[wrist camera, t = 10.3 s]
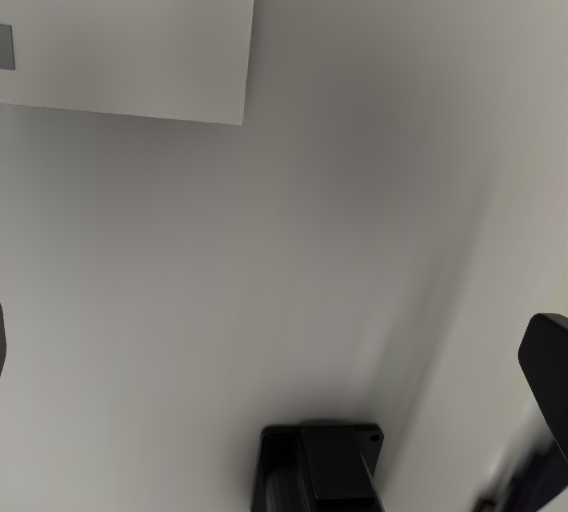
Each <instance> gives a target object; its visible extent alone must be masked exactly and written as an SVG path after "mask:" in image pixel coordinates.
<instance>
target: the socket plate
mask: <svg viewBox="0 0 568 512" xmlns="http://www.w3.org/2000/svg"><path fill="white" fill-rule="evenodd" d="M253 8H254V0H0V103H2V104H13V105H24V106H35V107H46V108H56V109H67V110H78V111H89V112H100V113H111V114H122V115H133V116H143V117H154V118H165V119H176V120H187V121H198V122H209V123H220V124H230V125H241V126H242V124H243V113H244V103H245V92H246V82H247V71H248V61H249V50H250V40H251V29H252V19H253Z"/></svg>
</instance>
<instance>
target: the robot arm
mask: <svg viewBox="0 0 568 512" xmlns="http://www.w3.org/2000/svg"><path fill="white" fill-rule="evenodd" d="M5 357H6V337H5V328H4V319H3V311H2V306H1V303H0V376H1V372H2V369H3V365H4V362H5ZM518 360H519V364H520V366H521V368H522V370H523V373H524V375H525V377H526V379H527V381H528V384H529V386H530V388H531V390H532V392H533V394H534V397H535V399H536V401H537V403H538V405H539V408H540V410H541V412H542V414H543V416H544V418H545V421H546V423H547V425H548V427H549V429H550V431H551V433H552V435H553V437H554V439H555V441H556V442H557V444H558V446H559V448H560V449H561V451H562V453H563V455H564V456H565V458H566V460H567V462H568V318H567V317H565V316H562V315H560V314H555V313H537V314H535V315H534V316H533V317H532V318H531V320H530V322H529V324H528V327H527V329H526V332H525V334H524V337H523V339H522V342H521V344H520V347H519V350H518ZM373 435H374V436H373ZM270 437H273V438H270ZM269 438H270V439H269ZM383 439H384V434H383V432H382V430H381V428H380V427H379V426H375V425H372V426H320V427H271V428H267V429H265V430H264V431H263V432H262V433H261V437H260V444H259V451H258V458H257V464H256V471H255V478H254V485H253V492H252V498H251V505H250V512H385V510H384V507H383V505H382V502H381V499H380V497H379V494H378V491H377V488H376V486H375V483H374V480H373V475H374V471H375V467H376V464H377V460H378V457H379V453H380V450H381V446H382V443H383Z"/></svg>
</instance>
